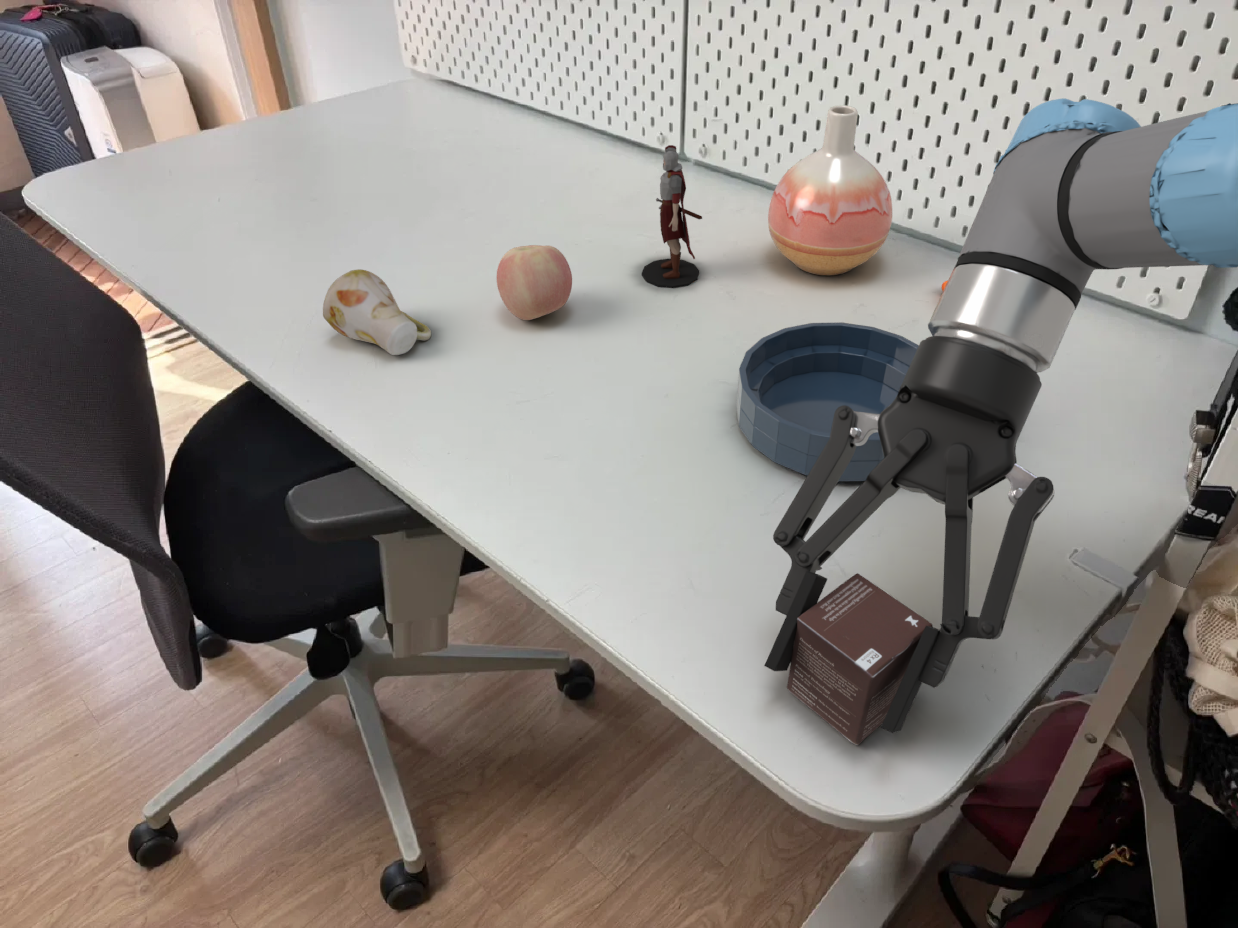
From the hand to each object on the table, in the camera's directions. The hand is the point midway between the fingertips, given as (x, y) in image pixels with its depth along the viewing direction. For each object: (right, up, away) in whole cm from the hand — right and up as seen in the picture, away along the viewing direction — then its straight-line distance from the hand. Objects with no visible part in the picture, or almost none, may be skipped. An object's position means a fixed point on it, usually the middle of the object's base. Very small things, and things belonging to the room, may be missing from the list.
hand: (831, 697), depth 57 cm
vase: (+11, +38, +51) cm, 65 cm away
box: (+2, -1, +5) cm, 5 cm away
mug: (-38, +27, +40) cm, 61 cm away
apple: (-22, +30, +44) cm, 57 cm away
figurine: (-7, +36, +50) cm, 62 cm away
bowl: (+7, +18, +28) cm, 34 cm away
